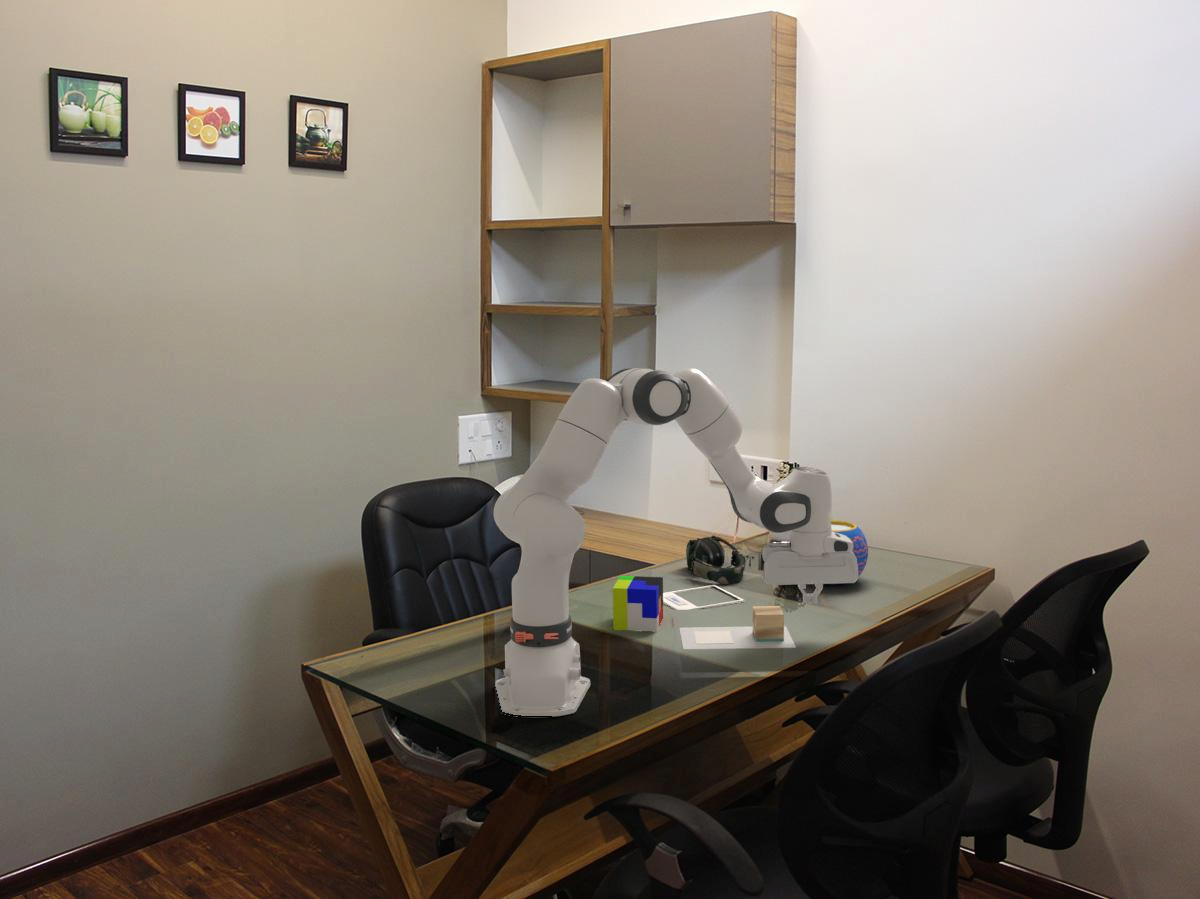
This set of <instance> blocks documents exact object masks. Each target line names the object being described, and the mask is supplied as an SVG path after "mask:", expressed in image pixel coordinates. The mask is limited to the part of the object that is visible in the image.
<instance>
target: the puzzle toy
mask: <svg viewBox="0 0 1200 899" xmlns="http://www.w3.org/2000/svg"><path fill="white" fill-rule="evenodd" d="M663 593H664V577H663V576H662V577H661V576H635V575H620V576H619V577H618V579H617V580H616V582H615V584H614V586H613V587H612V616H613V617H612V621H613V622H612V624H613V625H612V626H613V629H614V630H613V629H612V630H613V631H621V630H642V631H657V630H658V631H659V629H658V628H660V626H661V624H662V622H663V620H664V603H663ZM662 619H663V620H662ZM661 621H662V622H661ZM660 623H661V624H660ZM642 631H641V632H642ZM658 631H657V632H658Z"/></svg>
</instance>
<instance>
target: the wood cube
mask: <svg viewBox="0 0 1200 899" xmlns="http://www.w3.org/2000/svg"><path fill="white" fill-rule="evenodd" d="M752 626H753V635H754V638H755V640H756V642H768V641H784V626H785V614H784V611H783V610H782V608H781V606H780V605H771V606H770V605H769V606H768V605H767V606H765V605H761V606H759V605H757V606H752Z"/></svg>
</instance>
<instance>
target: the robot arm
mask: <svg viewBox="0 0 1200 899" xmlns="http://www.w3.org/2000/svg"><path fill="white" fill-rule="evenodd" d="M623 421H629V422H633V423H634V424H638V425H652V426H660V425H661V426H662V425H664V424H665V425H666V424H668V423H670V422H672V421H675V422H676V423H677V425H678V426H679V427H680V428H681V430H682V431H683V433H684V434H685V435H686V437H687V438H688V439H689V440H690V442H691V443H692V444H693V445H694V446H695V447H696V448H697V449H698V450H699V451H700V452H701V453H702V454H703V456H704V457H705V458H706V459H707V460H708V461H709V463H710V464H711V466H712V467H713V469H714V470H715V472H716V473H717V475H718V476H719V478H720V480H721V481H722V482H723V485H725V487H726V489H727V492H728V495H729V498H730V504H731V507H732V509H733V512H734V513H735V515H736V516H737V517H738V518H739V519H740V520H742V521H744V522H746V523H750V524H753V525H755V526H757V527H759V528H761V529H764V530H766V531H768V532H771V533H775V534H779V533H786V532H789V541H780V542H776V541H772V542H769V543H767V544H766V545H764V546H763V548H762V550H761V551H762V560H763V561H764V563H763V571H762V572H763V573H762V576H763V577H762V578H763V580H764V582H765V583H766V585H767V586H768V585H769V586H783V585H787V586H788V585H791V586H792V585H797V587H798V589H799V591H800V592H801V594H802V602H803V604H818V602H819V600H818V599H819V598H818V597H819V595H820V594H821V592H822V590H823V588H824V585H827V584H828V585H833V584H832V583H842V584H855V583H856V582H857V581H858V579H859V577H858V565H857V559H856V556H855V555H854V553H853V552H852V550H853V543H852V541H851V540H850V539H849V538H848V537H847V536H845V535H842V534H839V533H835V532H832V527H831V523H830V521H831V518H830V517H831V513H832V509H833V507H832V506H833V505H832V504H833V498H832V496H833V495H832V486H831V480H830V477H829V474H827V472H825V471H823V470H821V469H818V468H813V467H808V466H797V467H794V468H793V470H791V471H792V472H790V474H788V475H787V476H786V477H784V478H783V479H782V480H780V481H777V482H776V483H771V482H770V481H768V480H765V479H763V478H762V477H759V476H758V475H755V473H753V472H752V471H751V469H750V467H749V466H748V464H747V463H746V461H745V460H744V458H743V457H742V455H741V454H740V452H739V450H738V449H737V448H736V445H737V444H738V442H739V441H740V439H741V437H742V436H741V435H742V433H743V425H742V422H741V421H740V418H739V415H738V414H737V412H736V410H735V409H734V407H733V405H731V403H730V402H729V400H728V398H726V396H725V395H724V393H723V392H722V391H721V390H720V388H718V387H717V385H716V384H715V383H714V382H713V381H712V380H711V379H710V378H709V377H708V376H707V375H706V374H704V373H703V372H702V371H701V370H700V369H698V368H695V367H686V368H682V369H679V370H676V372H674V373H670V372H668V371H664V370H659V369H657V370H654V369H651V368H648V367H636V368H635V367H634V368H630V367H629V368H624V369H621V370H619V371H617V372H615V373H614V374H611V376H610V377H608V378H607V379H606V380H605V379H603V378H602V379H601V378H594V377H593V378H587V379H585V380H583V381H582V382H580V384H579V385H578V386H577V387H576V389H575V390H574V391H573V392H572V394H571V395H570V397H569V398H568V400H567V401H566V403H565V404H564V406H563V408H562V410H561V412H560V413H559V415H558V417H557V420H556V421H555V423H554V425H553V427H552V429H551V430H550V433H549V435H548V437H547V439H546V440H545V443H544V445H543V446H542V448H541V450H540V452H539V453H538V455H537V456H536V458H535V460H534V461H533V463H532V464H531V465H530V466H529V467H528V469H527V470H526V471H525V473H524V474H523V475H522V476H521V477H520V478H519V480H518V481H517V482H516V483H515V484H513V486H512V487H511V488H509V489H507V490H505V491H504V492H503V493H502V494H500V495H499V497H498V498H497V500H496V501H495V504H494V507H493V520H494V522H495V524H496V526H497V527H498V529H499V530H500V532H502V534H504V536H505V537H506V538H508V539H509V540H510V541H513V542H514V543H517V544H519V545H520V548H521V557H520V562H519V567H518V570H517V573H516V574H515V575H513V577H512V579H511V604H512V605H511V606H512V611H511V612H512V616H511V617H510V624H509V625H510V626H509V628H510V629H509V631H510V640H509V641H508V642H506V644H504V661H505V662H504V665H505V666H504V667H505V668H503V670H502V675H503V677H502V678H500V679H497V680H496V681H495V686H494V687H496V688H495V691H496V690H497V692H496V695H497V694H498V696H497V699H498V698H499V700H498V703H500V704H499V706H501V708H500V711H501V710H502V712H505V713H509V714H513V715H521V716H552V717H561V716H566V715H571V714H575V713H576V712H577V711H578V708H579V707H580V705H581V703H582V701H583V699H584V698H585V696H586V693H587V692H588V690H589V688H590V687H591V680H590V678H588V677H585V676H582V670H581V669H582V668H581V652H580V643H578V642H577V641H576V640H575V639H574V638H573V637H572V634H573V633H572V631H573V630H572V628H573V624H572V616H571V615H570V614H569V613H570V612H569V609H570V608H569V606H570V605H569V603H570V602H569V584H570V583H569V582H570V574H571V573H570V572H571V568H572V564H573V558H574V556H575V553H577V551H579V550H580V548H581V547H582V545H583V543H584V541H585V538H586V534H587V531H586V530H587V528H586V523H585V520H584V518H583V517H582V515H581V514H580V513H579V511H577V510H576V509H575V508H574V507H573V506H572V505H571V504H570V503H568V502H567V501H568V500H569V499H570V497H571V496H572V495H573V494H574V493H575V492H576V491H577V490H578V489H579V488H581V487H583V485H585V484H587V483H588V482H590V480H591V479H592V477H593V475H594V473H595V471H596V470H597V467H598V465H599V463H600V462H601V459H602V457H603V455H604V452H605V451H606V449H607V446H608V444H609V442H610V440H611V438H612V436H613V433H614V431H616V429H617V427H618V426H619V425H620V424H621V423H622V422H623ZM807 585H814V586H815V590H814V591H813V593H806V591H805V590H806V588H807ZM804 589H805V590H804ZM502 712H501V713H502Z"/></svg>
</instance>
